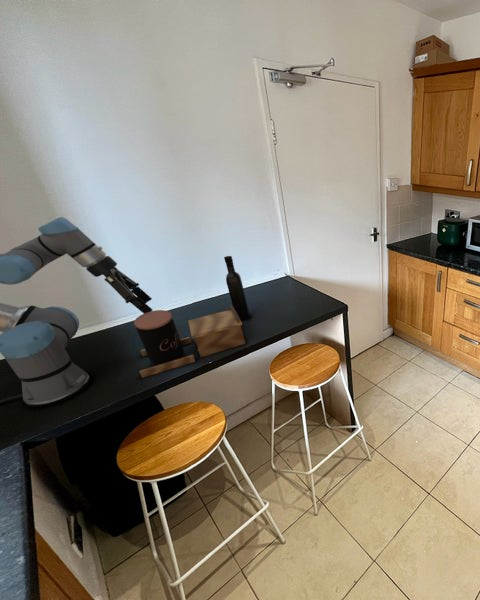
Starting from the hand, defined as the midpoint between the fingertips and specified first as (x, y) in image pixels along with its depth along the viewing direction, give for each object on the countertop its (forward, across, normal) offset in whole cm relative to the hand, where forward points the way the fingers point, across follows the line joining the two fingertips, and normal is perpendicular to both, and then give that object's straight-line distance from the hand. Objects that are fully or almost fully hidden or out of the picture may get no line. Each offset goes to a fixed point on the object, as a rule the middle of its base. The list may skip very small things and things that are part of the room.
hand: (148, 306), depth 118 cm
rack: (+21, -9, -1) cm, 23 cm away
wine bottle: (+29, +7, -21) cm, 37 cm away
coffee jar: (+17, -9, +7) cm, 20 cm away
